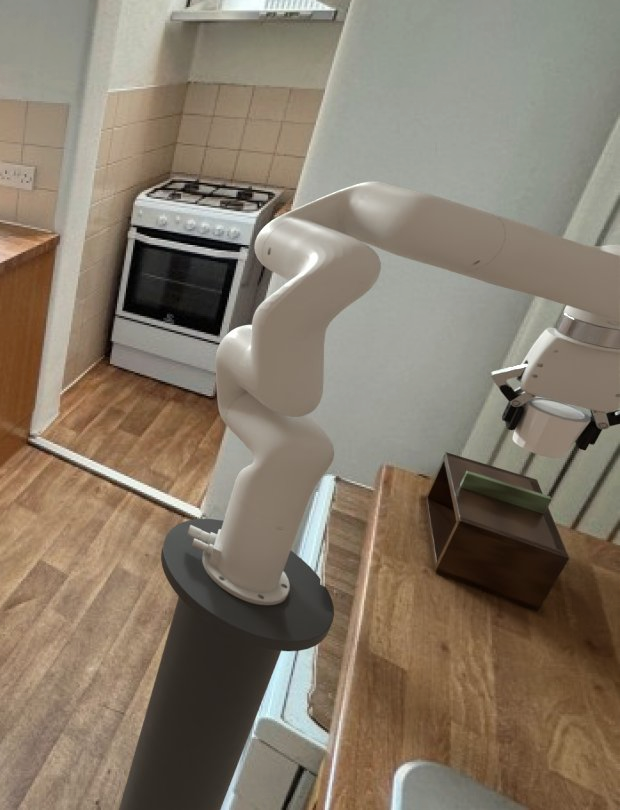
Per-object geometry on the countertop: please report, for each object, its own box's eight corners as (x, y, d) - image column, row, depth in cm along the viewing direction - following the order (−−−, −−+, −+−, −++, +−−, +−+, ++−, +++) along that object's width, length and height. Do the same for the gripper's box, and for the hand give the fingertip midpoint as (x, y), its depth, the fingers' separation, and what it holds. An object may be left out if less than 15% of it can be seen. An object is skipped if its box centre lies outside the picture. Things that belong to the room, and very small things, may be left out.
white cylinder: (511, 449, 92) (531, 410, 89) (502, 427, 97) (520, 390, 94) (576, 467, 88) (598, 427, 85) (563, 443, 93) (583, 405, 90)
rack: (435, 572, 99) (467, 505, 94) (424, 498, 115) (451, 438, 110) (538, 612, 92) (578, 542, 87) (511, 528, 108) (544, 465, 103)
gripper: (682, 340, 83) (621, 446, 89) (507, 307, 93) (464, 404, 99) (703, 360, 77) (637, 472, 84) (515, 323, 87) (469, 425, 94)
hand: (543, 434), depth 92 cm, fingers closed on white cylinder, 6 cm apart
